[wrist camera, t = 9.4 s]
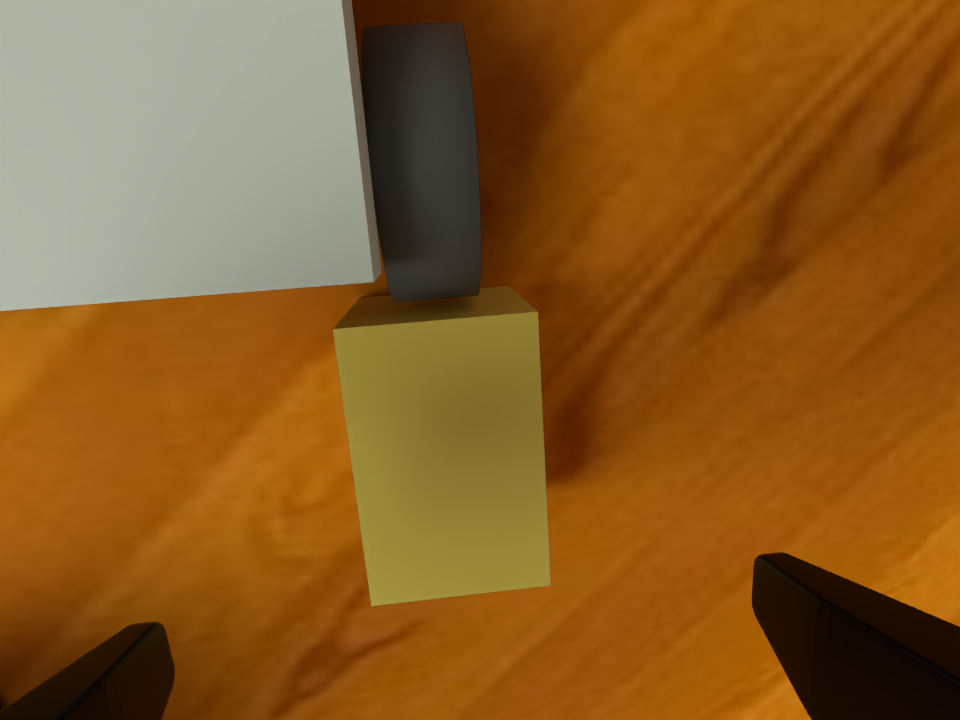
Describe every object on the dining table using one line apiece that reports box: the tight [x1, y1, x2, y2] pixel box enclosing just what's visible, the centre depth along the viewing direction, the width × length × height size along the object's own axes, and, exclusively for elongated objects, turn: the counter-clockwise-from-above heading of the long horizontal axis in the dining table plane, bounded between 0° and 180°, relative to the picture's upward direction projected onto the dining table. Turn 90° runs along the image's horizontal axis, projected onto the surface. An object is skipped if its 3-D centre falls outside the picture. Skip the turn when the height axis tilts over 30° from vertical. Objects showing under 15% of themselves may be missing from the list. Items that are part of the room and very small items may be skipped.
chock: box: [333, 285, 551, 606], centre depth 16 cm, size 7×4×5 cm, turn 4°
